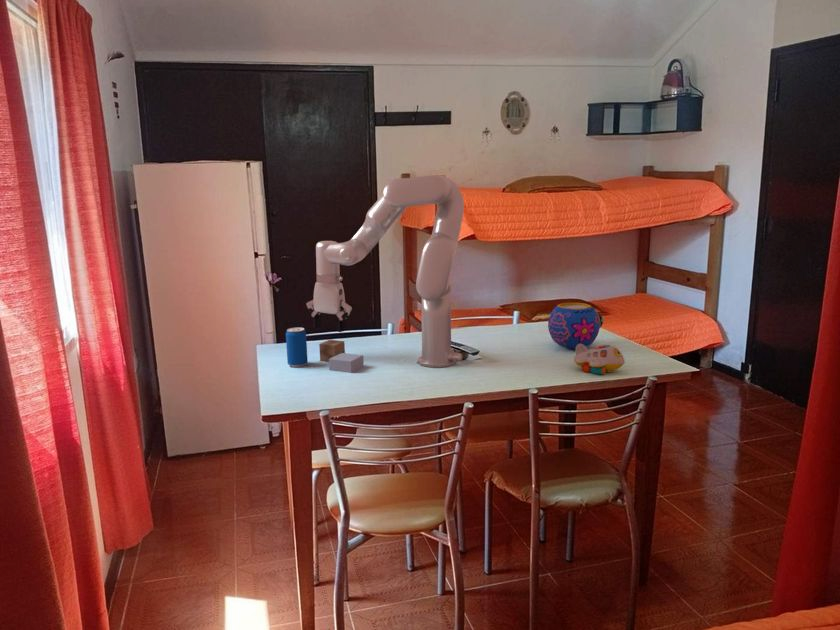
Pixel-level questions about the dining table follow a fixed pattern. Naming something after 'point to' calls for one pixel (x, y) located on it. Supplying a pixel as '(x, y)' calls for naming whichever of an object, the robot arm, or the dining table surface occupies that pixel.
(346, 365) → the base block
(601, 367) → the toy airplane
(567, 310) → the ceramic pot
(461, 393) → the dining table surface
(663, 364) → the dining table surface
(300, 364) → the beverage can
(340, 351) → the walnut cube
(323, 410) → the dining table surface
